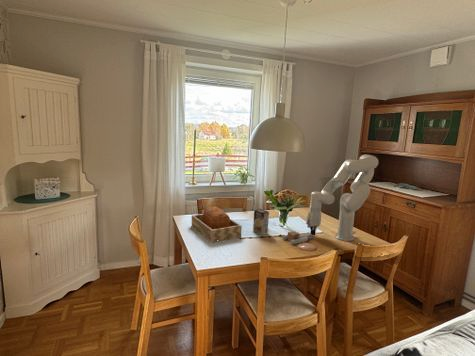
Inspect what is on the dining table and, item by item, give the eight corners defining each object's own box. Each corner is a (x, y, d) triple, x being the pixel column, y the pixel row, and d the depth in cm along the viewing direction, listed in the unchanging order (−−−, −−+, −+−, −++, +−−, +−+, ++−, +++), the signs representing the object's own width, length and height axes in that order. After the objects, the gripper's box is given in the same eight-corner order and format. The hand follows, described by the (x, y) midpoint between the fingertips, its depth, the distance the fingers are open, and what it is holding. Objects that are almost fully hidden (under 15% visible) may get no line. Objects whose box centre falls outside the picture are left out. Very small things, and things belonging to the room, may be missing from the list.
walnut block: (293, 238, 193) (294, 230, 192) (299, 241, 188) (299, 233, 187) (287, 239, 190) (287, 232, 189) (292, 242, 185) (293, 234, 184)
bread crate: (218, 221, 221) (218, 211, 220) (241, 236, 192) (241, 225, 191) (191, 225, 210) (191, 215, 208) (211, 242, 181) (211, 230, 179)
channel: (298, 236, 197) (298, 232, 197) (307, 240, 189) (307, 237, 189) (282, 239, 190) (282, 236, 189) (291, 244, 182) (291, 240, 182)
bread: (212, 237, 189) (213, 215, 186) (201, 225, 212) (201, 205, 209) (231, 235, 194) (232, 213, 192) (218, 223, 218) (219, 203, 215)
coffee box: (252, 231, 202) (253, 210, 200) (258, 229, 207) (259, 208, 204) (262, 235, 196) (263, 213, 193) (268, 233, 201) (269, 211, 198)
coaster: (306, 242, 186) (306, 241, 186) (319, 248, 177) (319, 247, 177) (294, 245, 181) (294, 244, 181) (306, 252, 172) (306, 251, 171)
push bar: (308, 236, 199) (308, 232, 198) (312, 238, 194) (313, 234, 194) (294, 238, 193) (294, 234, 193) (299, 241, 189) (299, 237, 188)
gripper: (318, 207, 202) (316, 231, 205) (303, 209, 194) (301, 234, 197) (326, 209, 195) (324, 234, 199) (311, 212, 188) (308, 238, 191)
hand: (312, 234), depth 198 cm, fingers closed
